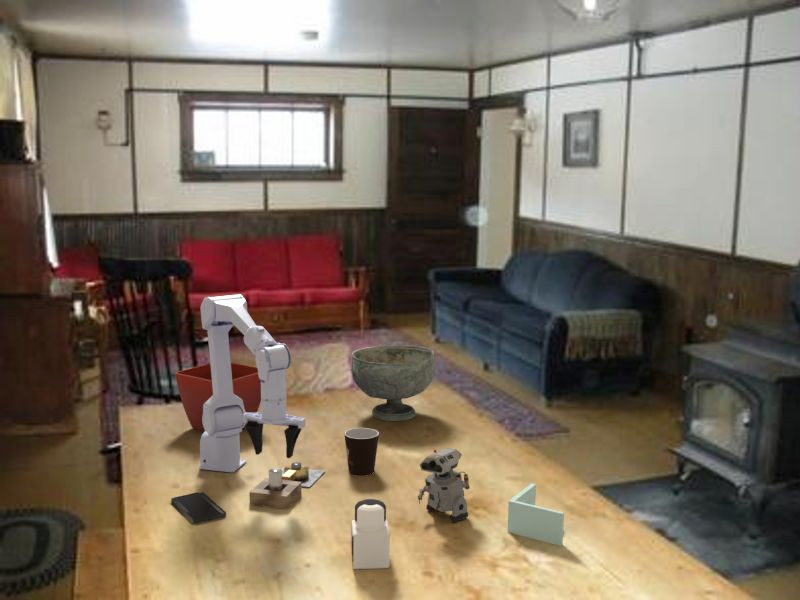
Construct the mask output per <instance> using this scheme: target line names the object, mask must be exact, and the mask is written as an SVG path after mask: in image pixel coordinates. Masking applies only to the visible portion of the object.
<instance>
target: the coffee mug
mask: <svg viewBox="0 0 800 600" xmlns="http://www.w3.org/2000/svg"><path fill="white" fill-rule="evenodd" d="M379 435H380V432H379V431H378V430H376V429H375V428H374V429H373V428H368V427H354V428H350V429H347V430H346V431H344V441H345V450H346V460H347V469H348V473H349V474H350V475H351V476H355V475H356V477H367V476H366V475H368V476H371V475H373V474H374V473H375V466H376V459H377V452H378V444H379ZM373 472H374V473H373ZM372 473H373V474H372Z"/></svg>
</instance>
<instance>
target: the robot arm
mask: <svg viewBox="0 0 800 600" xmlns="http://www.w3.org/2000/svg"><path fill="white" fill-rule="evenodd" d="M247 302H248V301H246V298H245V297H244V296H243V295H242V294H240V293H237V294H231V295H229V294H228V295H221V296H220V295H219V296H218V295H217V296H206V297H204V298H203V300H202V302H201V305H200V317H201V318H200V319H201V325H202V329H203V330H206V331H207V340H208V351H209V362H210V365H211V376H212V387H213V395H212V397H211V398H210V399H209V400H207V401H206V402H205V403H204V405H203V416H202V423H203V427H204V429H205V431H203V433H202V434H201V436H200V440H199V458H200V459H199V460H200V461H199V464H200V466H199V467H198V469H199V470H205V471H206V470H207V471H215V472H224V473H225V472H226V473H234V472H236V471H238V469H239V468H241V467H242V466H243V465H245V463H247V460H245V459H241V455H240V452H241V451H240V450H241V449H240V448H241V447H240V433H242V432H243V429H245V431H246V432H247V434H248V436H249V438H250V440H251V443H252V445H253V448H254V453H255V455H257V456H258V455H259V456H260V454H261V453H263V429H264V425H269V426H270V425H272V426H273V425H274V426H281V427H282V426H283V427H286V429H284V431H283V432H284V437H285V441H286V446H285V447H286V452H285V453H286V455H285V456H286V459H291V457H293V456H294V451H295V447H296V443H297V440H298V437H299V435H300V433H301V431H302V430H303V428H305V427H306V417H299V416H295V415H292V414H288V413H287V370H288V369H289V368H290V367H291V365H292V354H291V351H290V348H289V347H288V346H287V344H286V343H280V342H277V341H276V340H275V339H274V337H272V335H271V334H270V333H269V332H268V331H267V330H266V328H265V327H264V326H262V325H257V324H256V323H255V320H253V318H252V317H251V315H250V313H249V312H248V303H247ZM234 326H235V328H237V330H239V332H240V333H242V335H244V336H243V343H244V344H245V346H246V347H247V349H249V351H250V352H251V353H252V354H253V356H254V359H255V365H256V367H257V368H258V376H259V379H261V402H260V412H257V413H248V412H245V409H244V405H243V400H242V399H241V398H239V397H238V396H236V395H234V394H233V383H232V372H231V362H232V361H231V353H230V351H231V350H230V341H229V339H230V338H229V332H230V331H231V329H232V328H233V327H234ZM229 405H232V406H229ZM224 406H226V407H224ZM219 407H221V408H219ZM246 423H248V424H247V426H246V427H245V428H243V427H244V426H245V424H246ZM242 428H243V429H242Z"/></svg>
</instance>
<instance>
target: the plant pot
mask: <svg viewBox="0 0 800 600" xmlns="http://www.w3.org/2000/svg"><path fill="white" fill-rule="evenodd" d="M231 372H232V383H233V394H234V395H236V396H238V397H239V398H241V399H242V400H243V405H244V409H245V412H248V413H258V412H259V411H258V410H259V408H260V406H261V379H259V376H258V368H257V366H251V365H247V364H243V363H236V362H232V361H231ZM175 381H176V384H177V385H176V386H177V390H178V392H179V396H180V400H181V403H182V406H183V410H184V412H185V415H186V418H187V420H188V422H189V424H190V426H191V428H192V429H195V430H199V431H201V432H205V429H204V427H203V423H202V416H203V405H204V403H205V402H206V401H207V400H209V399H210V398H211V397H212V395H213V387H212V376H211V365H210V363H205V364H201V365H198V366H193V367H191V368H187V369H181V370H179V371H175ZM229 406H232V405H229ZM224 407H226V406H224ZM219 408H221V407H219ZM247 424H248V423H246V424H245V426H244V427H243V428H242V430H244V429H245V427H246V426H247Z"/></svg>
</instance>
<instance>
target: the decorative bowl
mask: <svg viewBox="0 0 800 600" xmlns="http://www.w3.org/2000/svg"><path fill="white" fill-rule="evenodd" d="M435 369H436V356H435V351H434V350H433V349H432V348H429V347H425V346H419V345H412V344H411V345H401V344H392V345H390V344H389V345H375V346H368V347H363V348H360V349H357V350H356V349H355V350H354V351H352V352H351V369H350V371H351V376H352V379H353V381H354V383H355V385H356V386H357V387H358V388H359V390H360V391H361V392H363V393H364V394H365V395H366V396H368V397H369V398H372V399H381V400H385V401H386V402H385V403H384V402H383V403H380V404H377V405H376V406H374V407H372V411H371V415H372V416H373V417H374V418H376V419H378V420H382V421H386V422H387V421H388V422H402V421H407V420H411V419H413V418H415V417H416V410H415V408H414V407H413V406H411V405H409V404H407V403H403V402H402V399H403V400H404V399H410V398H413V397H416V396H417V395H420V394H421V393H423V392H424V391H425V390H426V389H427V388H429V386H430V385H431V383H432V381H433V379H434V375H435Z"/></svg>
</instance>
